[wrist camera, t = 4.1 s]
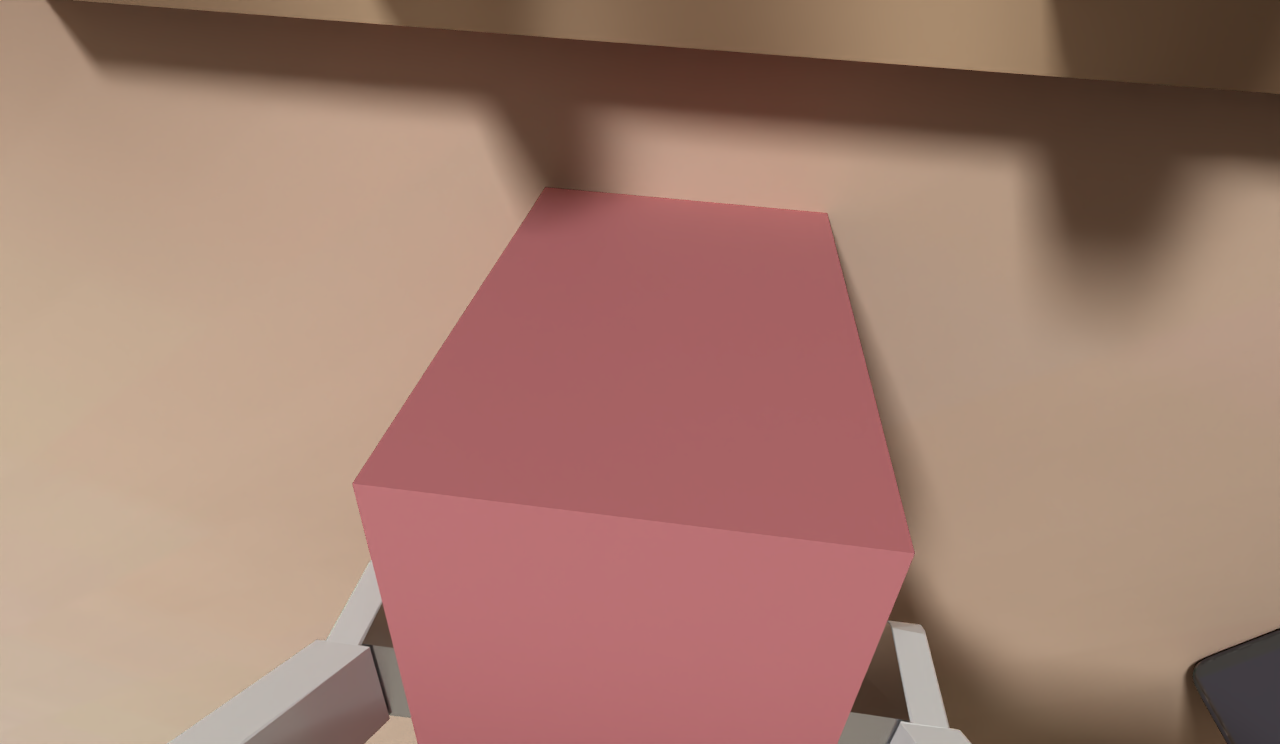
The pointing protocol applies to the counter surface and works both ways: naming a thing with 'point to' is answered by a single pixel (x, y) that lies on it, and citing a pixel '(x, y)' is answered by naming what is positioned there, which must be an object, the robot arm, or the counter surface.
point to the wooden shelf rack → (876, 31)
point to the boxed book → (641, 488)
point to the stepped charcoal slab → (1244, 690)
